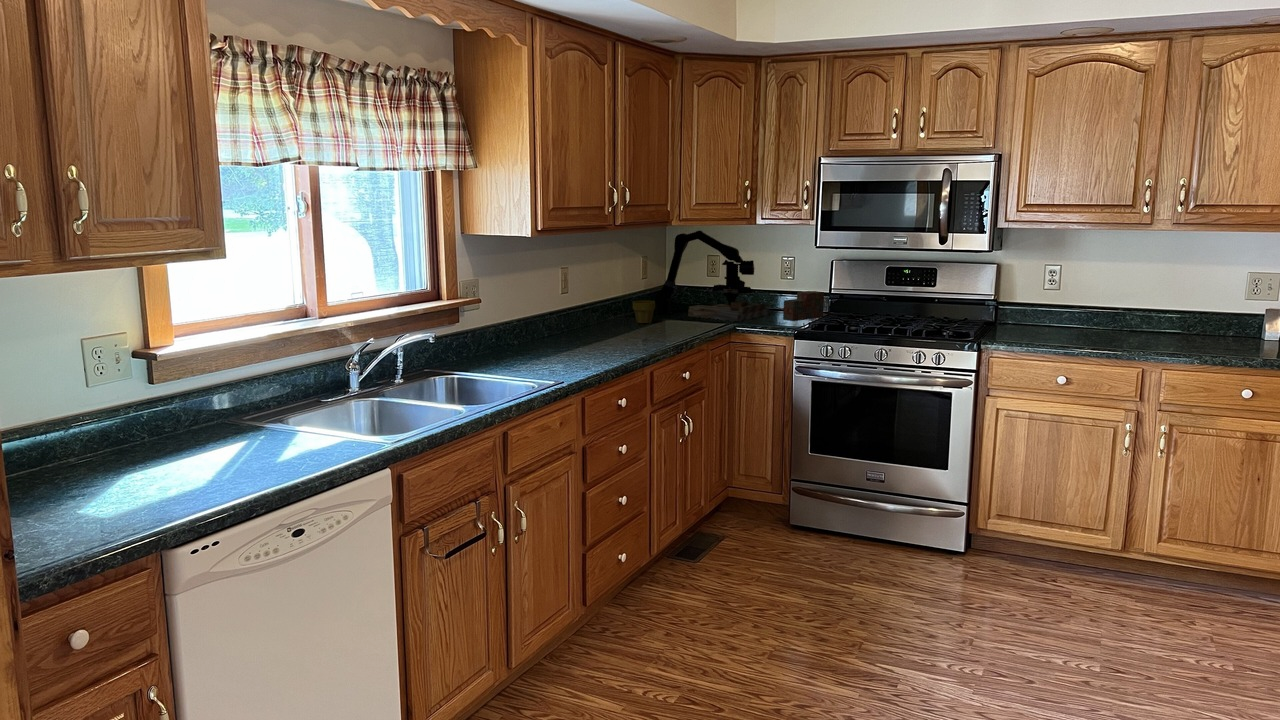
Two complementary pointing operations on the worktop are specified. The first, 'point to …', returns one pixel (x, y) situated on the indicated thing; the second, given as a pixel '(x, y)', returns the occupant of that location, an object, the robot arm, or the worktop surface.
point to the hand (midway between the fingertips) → (731, 307)
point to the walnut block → (738, 305)
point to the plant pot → (644, 311)
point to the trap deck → (728, 312)
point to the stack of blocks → (804, 306)
